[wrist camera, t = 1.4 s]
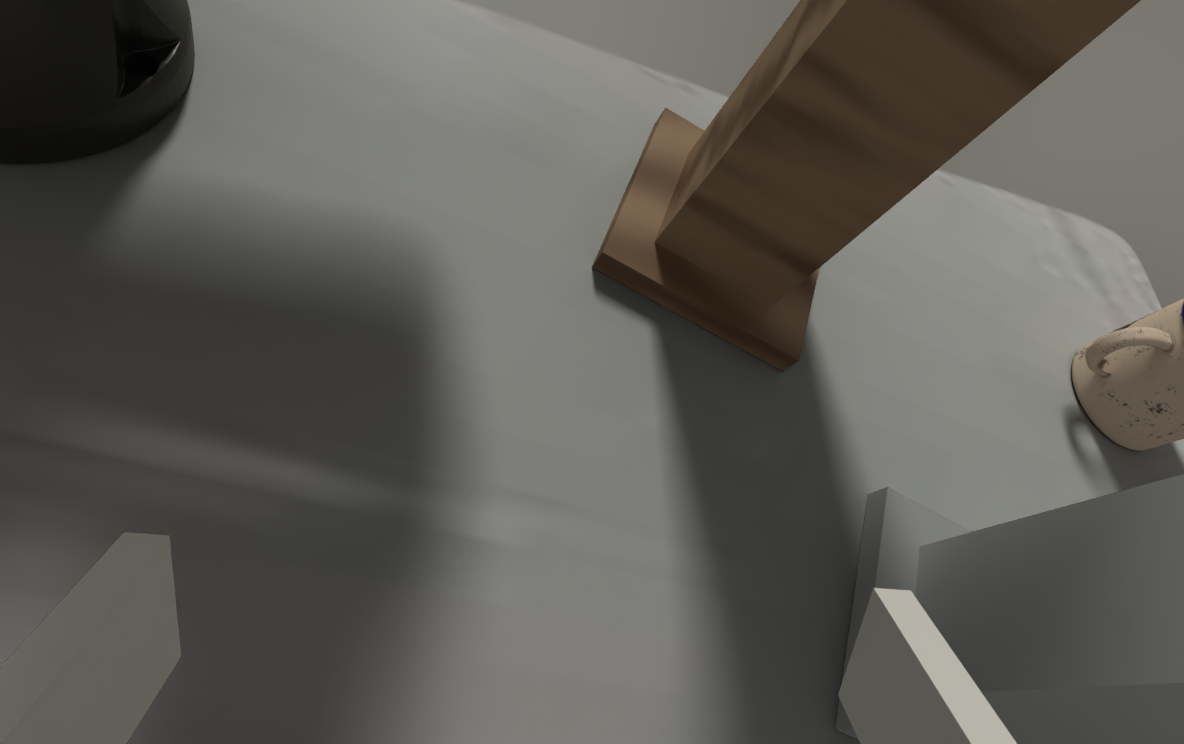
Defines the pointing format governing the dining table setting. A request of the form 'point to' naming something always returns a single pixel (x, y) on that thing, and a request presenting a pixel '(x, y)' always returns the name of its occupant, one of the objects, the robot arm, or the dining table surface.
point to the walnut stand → (824, 151)
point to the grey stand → (1048, 609)
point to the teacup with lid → (1136, 380)
